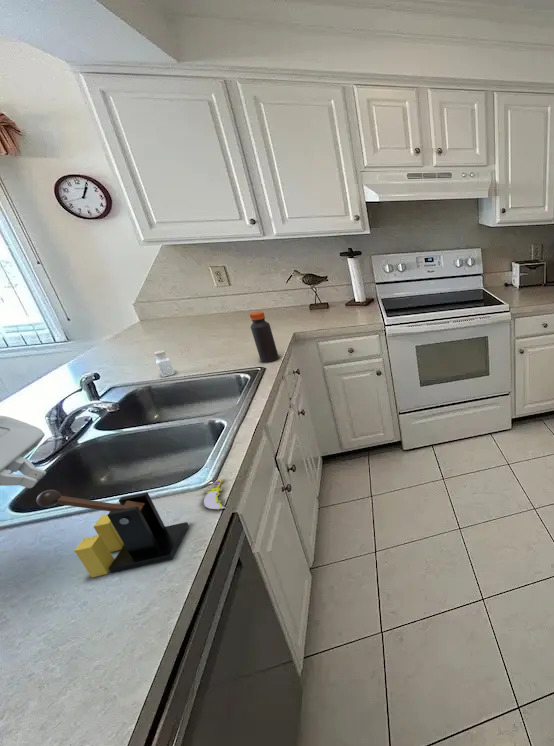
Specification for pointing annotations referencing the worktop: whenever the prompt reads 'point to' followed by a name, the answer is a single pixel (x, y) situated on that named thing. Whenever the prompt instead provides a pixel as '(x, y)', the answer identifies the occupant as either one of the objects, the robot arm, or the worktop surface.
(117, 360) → the worktop surface
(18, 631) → the worktop surface
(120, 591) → the worktop surface
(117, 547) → the butter
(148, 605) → the worktop surface
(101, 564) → the butter
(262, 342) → the bottle
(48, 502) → the arm
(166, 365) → the pepper shaker
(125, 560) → the bracket
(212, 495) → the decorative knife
